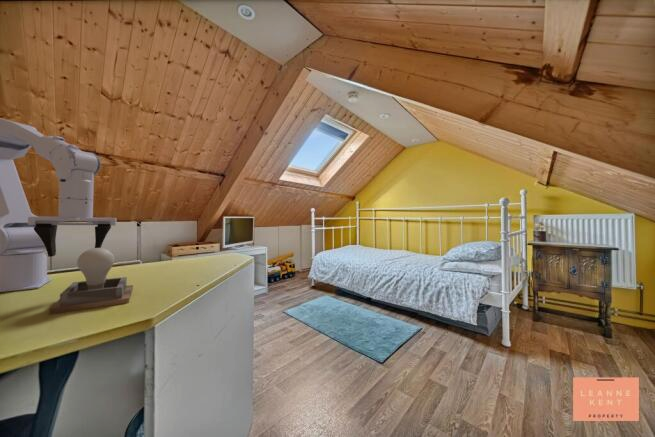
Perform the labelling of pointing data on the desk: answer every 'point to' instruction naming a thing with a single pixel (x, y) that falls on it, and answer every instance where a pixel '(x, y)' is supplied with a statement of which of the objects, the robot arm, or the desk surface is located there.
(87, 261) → the lightbulb
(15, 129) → the robot arm
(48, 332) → the desk surface
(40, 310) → the desk surface
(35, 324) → the desk surface
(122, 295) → the socket base
